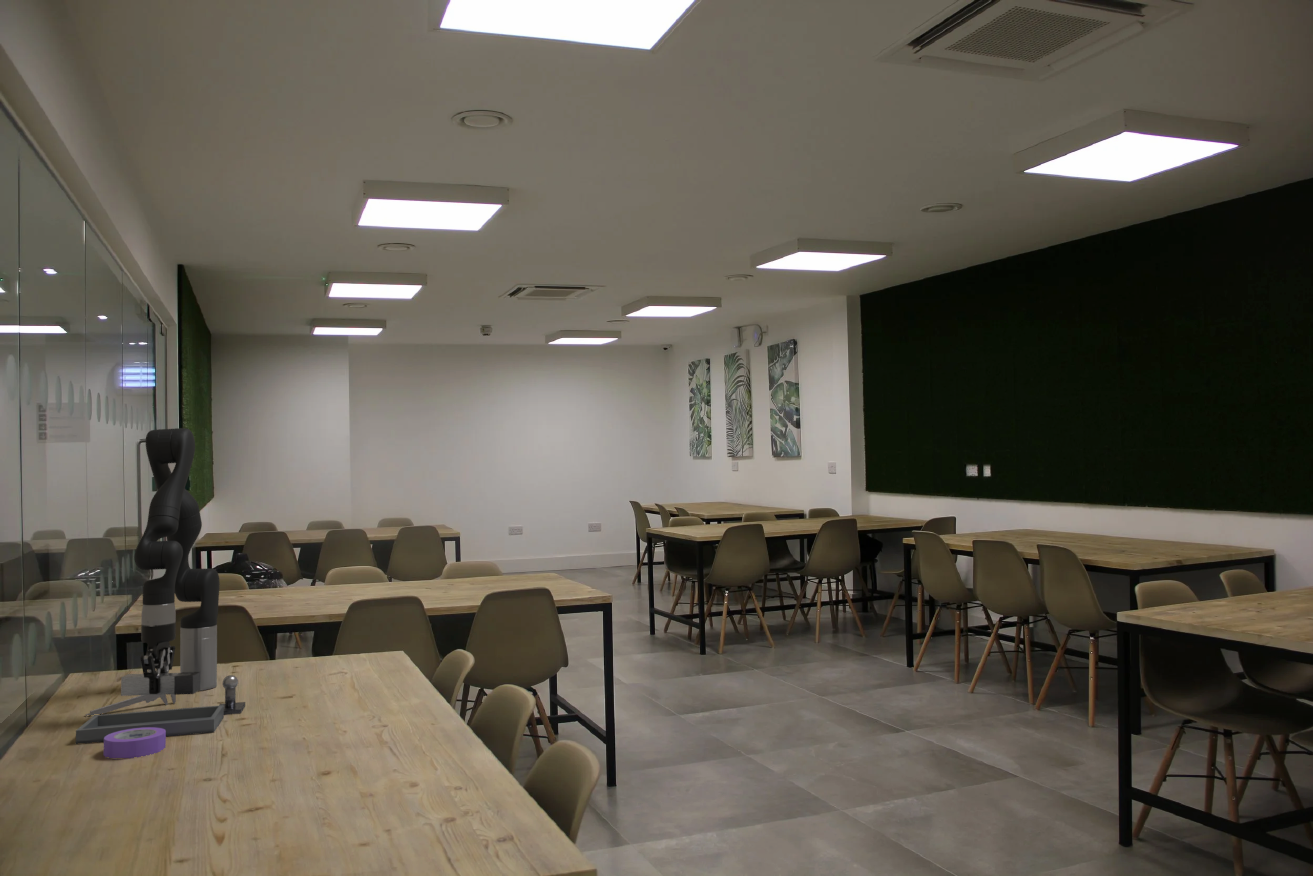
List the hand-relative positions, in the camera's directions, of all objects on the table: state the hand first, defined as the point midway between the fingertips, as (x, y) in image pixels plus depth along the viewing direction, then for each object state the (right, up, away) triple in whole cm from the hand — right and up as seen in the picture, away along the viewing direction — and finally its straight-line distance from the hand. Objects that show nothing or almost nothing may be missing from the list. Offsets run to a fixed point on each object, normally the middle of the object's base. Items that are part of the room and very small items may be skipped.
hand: (158, 691), depth 230 cm
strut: (0, 0, 0) cm, 0 cm away
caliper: (-10, -7, +7) cm, 14 cm away
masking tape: (+11, -5, -29) cm, 32 cm away
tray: (+6, -5, -13) cm, 16 cm away
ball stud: (+16, -6, +4) cm, 18 cm away
